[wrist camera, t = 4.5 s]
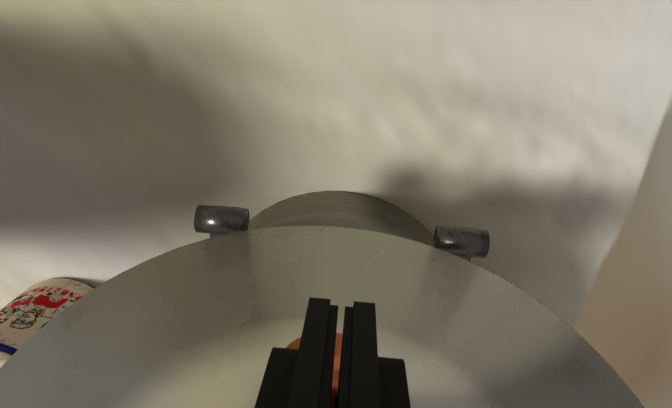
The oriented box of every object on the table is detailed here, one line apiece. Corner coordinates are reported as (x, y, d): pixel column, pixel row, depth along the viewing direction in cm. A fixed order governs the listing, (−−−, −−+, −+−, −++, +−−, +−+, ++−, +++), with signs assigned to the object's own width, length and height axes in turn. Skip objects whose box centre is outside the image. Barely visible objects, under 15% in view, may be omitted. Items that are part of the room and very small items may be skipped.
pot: (171, 149, 32) (87, 201, 22) (524, 179, 31) (600, 246, 21) (184, 384, 39) (126, 501, 29) (469, 411, 39) (507, 539, 29)
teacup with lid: (122, 279, 36) (19, 387, 25) (131, 370, 39) (43, 501, 28) (-26, 264, 36) (-194, 364, 25) (-5, 356, 39) (-146, 480, 28)
